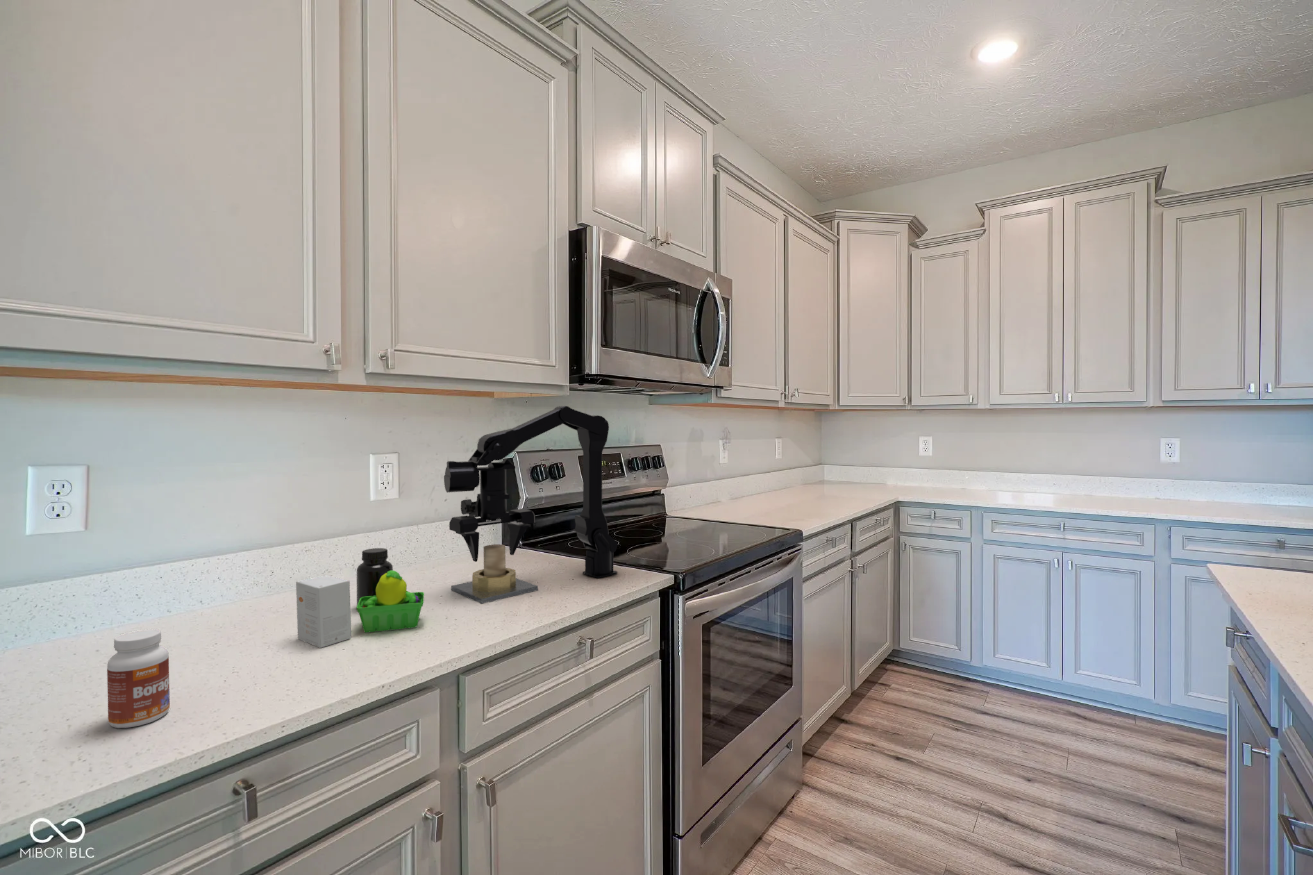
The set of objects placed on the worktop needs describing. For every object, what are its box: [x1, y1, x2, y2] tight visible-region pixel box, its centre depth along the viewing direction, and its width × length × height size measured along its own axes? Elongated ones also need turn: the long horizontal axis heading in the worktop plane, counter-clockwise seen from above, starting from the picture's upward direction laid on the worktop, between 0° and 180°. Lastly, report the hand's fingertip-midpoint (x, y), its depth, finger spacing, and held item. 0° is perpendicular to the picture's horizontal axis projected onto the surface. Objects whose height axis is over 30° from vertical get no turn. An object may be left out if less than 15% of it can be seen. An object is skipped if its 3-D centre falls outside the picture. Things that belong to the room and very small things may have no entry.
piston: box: [483, 543, 507, 577], centre depth 138 cm, size 5×5×9 cm
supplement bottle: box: [356, 547, 394, 606], centre depth 125 cm, size 7×7×12 cm
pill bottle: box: [106, 628, 171, 729], centre depth 79 cm, size 6×6×11 cm
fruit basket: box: [355, 569, 425, 633], centre depth 114 cm, size 11×9×11 cm
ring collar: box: [450, 567, 539, 604], centre depth 138 cm, size 14×14×4 cm
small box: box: [295, 574, 352, 649], centre depth 108 cm, size 8×6×10 cm
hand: (493, 558), depth 138 cm, fingers open, 9 cm apart
